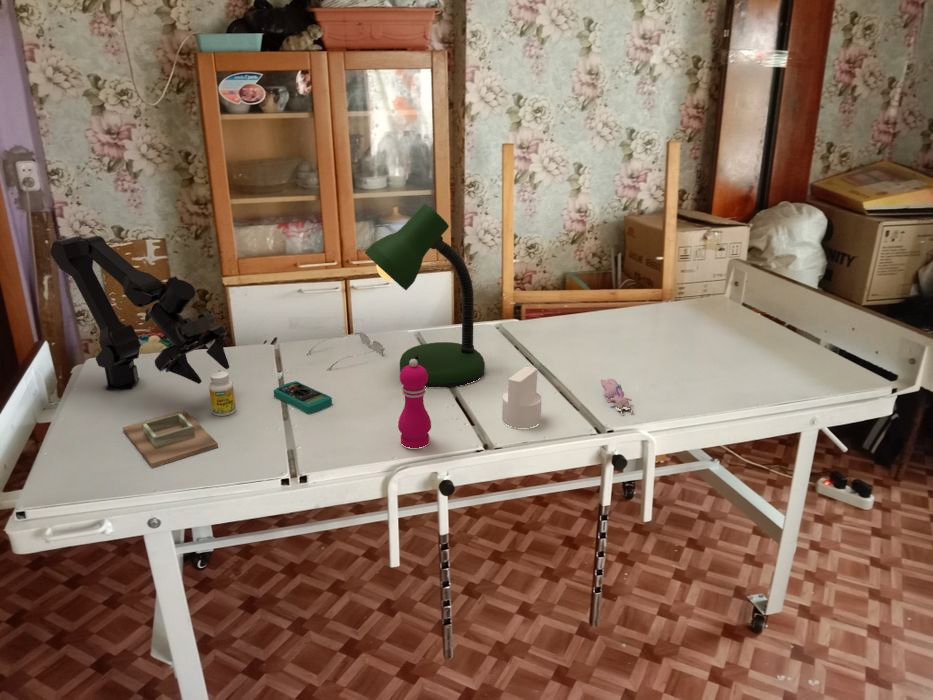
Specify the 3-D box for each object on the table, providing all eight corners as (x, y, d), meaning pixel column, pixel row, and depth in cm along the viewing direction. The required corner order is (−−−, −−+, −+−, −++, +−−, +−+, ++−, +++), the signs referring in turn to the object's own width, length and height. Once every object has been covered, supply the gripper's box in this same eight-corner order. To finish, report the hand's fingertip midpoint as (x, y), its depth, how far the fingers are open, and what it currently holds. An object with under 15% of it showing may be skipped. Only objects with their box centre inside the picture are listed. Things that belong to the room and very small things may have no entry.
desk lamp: (381, 398, 187) (375, 218, 170) (361, 364, 207) (353, 199, 190) (496, 381, 197) (501, 209, 180) (466, 350, 217) (468, 193, 200)
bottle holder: (123, 431, 170) (120, 417, 169) (185, 413, 178) (183, 400, 177) (152, 467, 156) (149, 452, 154) (218, 447, 164) (216, 432, 162)
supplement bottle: (232, 404, 183) (227, 368, 179) (239, 413, 179) (234, 376, 175) (209, 409, 180) (204, 373, 177) (216, 418, 176) (211, 381, 172)
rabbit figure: (637, 418, 181) (615, 383, 194) (641, 398, 178) (618, 364, 191) (613, 420, 180) (592, 385, 193) (616, 400, 177) (595, 366, 190)
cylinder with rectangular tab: (529, 433, 171) (531, 385, 166) (495, 423, 175) (496, 376, 171) (547, 418, 178) (549, 371, 174) (513, 408, 182) (515, 363, 178)
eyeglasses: (386, 359, 211) (385, 345, 210) (327, 373, 202) (326, 360, 200) (360, 342, 223) (359, 329, 221) (303, 355, 213) (302, 342, 212)
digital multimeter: (296, 388, 193) (295, 378, 192) (333, 406, 184) (332, 395, 182) (272, 398, 188) (271, 387, 187) (309, 416, 179) (308, 405, 177)
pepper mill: (398, 435, 169) (396, 353, 162) (430, 434, 170) (429, 352, 163) (398, 451, 163) (396, 366, 155) (432, 450, 163) (431, 365, 156)
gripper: (156, 316, 165) (201, 371, 165) (216, 293, 180) (257, 343, 180) (135, 344, 171) (179, 397, 171) (195, 319, 186) (235, 368, 186)
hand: (214, 375), depth 177 cm, fingers open, 9 cm apart
